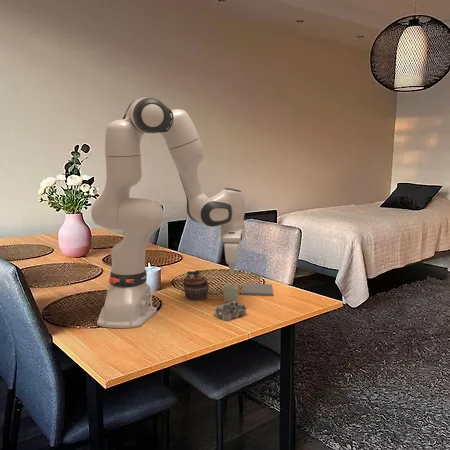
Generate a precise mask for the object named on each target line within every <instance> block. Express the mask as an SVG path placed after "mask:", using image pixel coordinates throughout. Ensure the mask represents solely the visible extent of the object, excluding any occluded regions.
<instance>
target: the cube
mask: <svg viewBox="0 0 450 450" xmlns="http://www.w3.org/2000/svg"><path fill="white" fill-rule="evenodd" d="M238 291H239V285H238V284H231V283H229V284H227V283H226V284H224V286H223V302H232V301H234V300H235V301H236V302H237V303H238V296H239V295H238V294H239V292H238Z"/></svg>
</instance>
